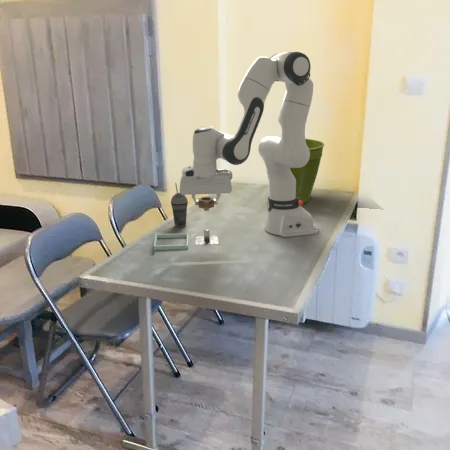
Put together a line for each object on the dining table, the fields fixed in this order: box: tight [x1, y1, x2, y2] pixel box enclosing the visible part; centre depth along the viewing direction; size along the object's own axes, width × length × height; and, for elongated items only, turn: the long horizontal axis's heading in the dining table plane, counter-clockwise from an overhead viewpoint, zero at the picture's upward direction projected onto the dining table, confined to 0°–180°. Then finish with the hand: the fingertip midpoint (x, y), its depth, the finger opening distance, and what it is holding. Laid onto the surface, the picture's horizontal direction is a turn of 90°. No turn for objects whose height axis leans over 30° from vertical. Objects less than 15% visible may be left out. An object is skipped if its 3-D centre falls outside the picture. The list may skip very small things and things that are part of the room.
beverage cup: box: [170, 182, 189, 229], centre depth 223 cm, size 7×7×20 cm
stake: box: [195, 228, 219, 246], centre depth 209 cm, size 9×9×5 cm
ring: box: [197, 196, 215, 212], centre depth 203 cm, size 9×6×3 cm
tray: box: [153, 232, 190, 253], centre depth 207 cm, size 13×13×2 cm
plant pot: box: [266, 138, 325, 204], centre depth 259 cm, size 30×30×29 cm
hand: (206, 204), depth 205 cm, fingers closed on ring, 6 cm apart
